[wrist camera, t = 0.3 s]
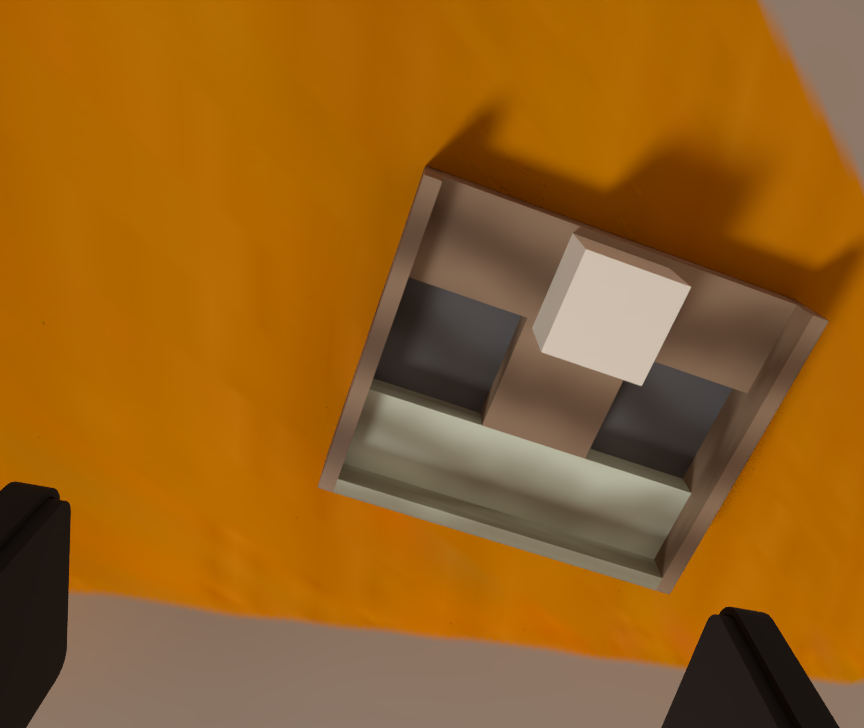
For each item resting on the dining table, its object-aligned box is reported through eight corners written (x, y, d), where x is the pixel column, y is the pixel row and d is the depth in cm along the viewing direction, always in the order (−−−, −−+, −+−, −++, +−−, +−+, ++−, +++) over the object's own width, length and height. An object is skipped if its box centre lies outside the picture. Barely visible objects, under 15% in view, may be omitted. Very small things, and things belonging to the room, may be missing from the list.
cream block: (572, 233, 41) (585, 249, 38) (668, 267, 42) (691, 286, 38) (532, 328, 44) (540, 352, 40) (624, 359, 44) (641, 386, 40)
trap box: (425, 165, 42) (424, 174, 38) (796, 300, 45) (828, 321, 41) (326, 456, 49) (317, 487, 45) (652, 556, 52) (669, 594, 48)
